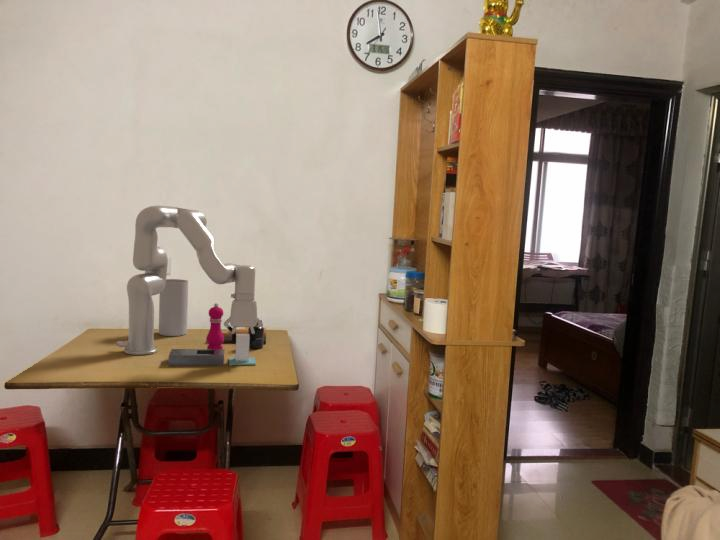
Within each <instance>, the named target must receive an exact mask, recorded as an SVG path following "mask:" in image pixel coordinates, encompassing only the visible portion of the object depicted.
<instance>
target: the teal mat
mask: <svg viewBox="0 0 720 540" xmlns="http://www.w3.org/2000/svg"><path fill="white" fill-rule="evenodd" d="M228 359H229V360H228V366H230V367H231V366H232V365H233V367H235V366H234V365H257V362H256V357H255V356H249V362H235V356H229V357H228Z"/></svg>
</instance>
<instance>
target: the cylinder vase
mask: <svg viewBox="0 0 720 540" xmlns="http://www.w3.org/2000/svg"><path fill="white" fill-rule="evenodd" d="M188 296H189V280H187V279H182V278H181V279H179V278H176V279H175V278H166V284H165V288H164V290H163V291H162V292H161V293H159V296H158V298H159V307H158V308H159V309H158V334H159V335H160V336H165V337H181V335H182V336H184V335H186V334H187V333H188V308H189V307H188V301H189V299H188V298H189V297H188Z"/></svg>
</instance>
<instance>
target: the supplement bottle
mask: <svg viewBox="0 0 720 540" xmlns="http://www.w3.org/2000/svg"><path fill="white" fill-rule="evenodd" d="M259 320H260V321H261V322H262V323H263V320H262V319H259ZM256 326H258V323H257V325H256ZM256 326H255V327H256ZM255 327H253V328H255ZM264 328H265V327H263V326H262V327H261V328H259V329H258V330H257V331H256V332H255V333H254V342H252V344H250V338H249V350H250V349H251V350H260V349H263V348H264V344H263V340H264ZM250 333H251V329H250V327H249V328H248V334H249V336H250Z"/></svg>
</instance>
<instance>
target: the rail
mask: <svg viewBox="0 0 720 540" xmlns="http://www.w3.org/2000/svg"><path fill="white" fill-rule="evenodd" d="M204 365H205V366H206V367H209V366H210V367H211V366H212V367H215V366H216V365H217V366H218V367H219V366H220V367H221V366H224V365H225V349H224V348H222V349H207V348H171V350H170V352H169V354H168V367H169V366H170V367H177V366H179V367H180V366H181V367H182V366H183V367H185V366H186V367H193V366H194V367H205V366H204ZM214 365H215V366H214ZM217 366H216V367H217Z"/></svg>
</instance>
